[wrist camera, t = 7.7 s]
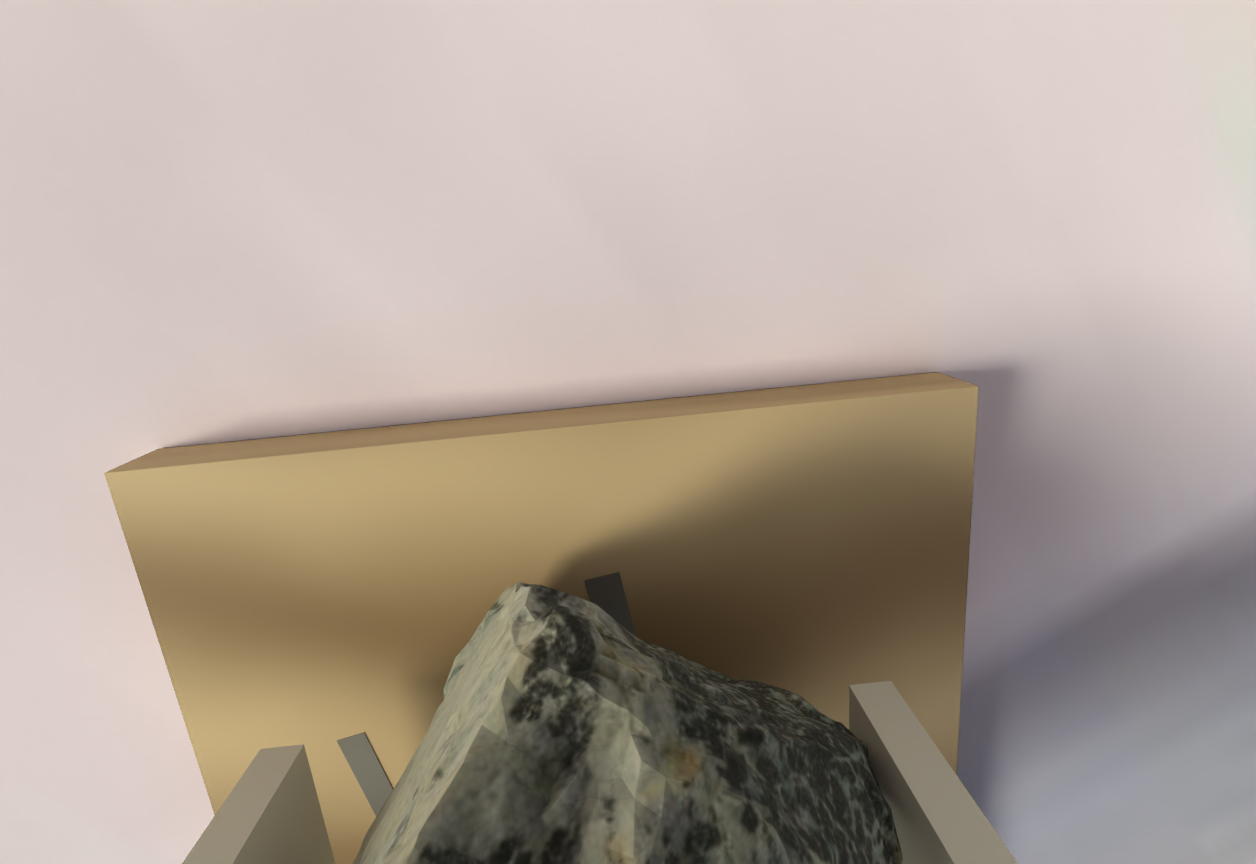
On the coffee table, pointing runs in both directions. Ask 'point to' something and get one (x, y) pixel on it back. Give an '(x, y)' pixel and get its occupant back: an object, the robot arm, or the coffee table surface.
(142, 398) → the coffee table surface
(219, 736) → the board
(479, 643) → the stone
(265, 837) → the robot arm
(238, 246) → the coffee table surface
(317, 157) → the coffee table surface
